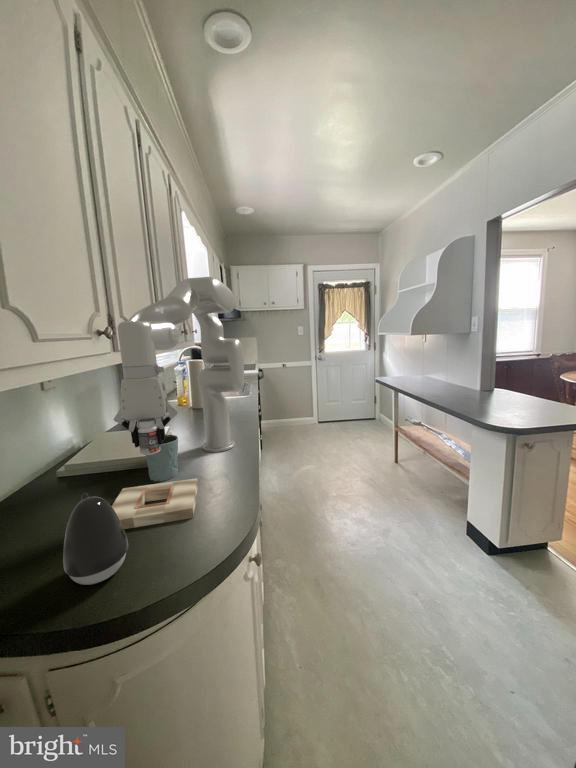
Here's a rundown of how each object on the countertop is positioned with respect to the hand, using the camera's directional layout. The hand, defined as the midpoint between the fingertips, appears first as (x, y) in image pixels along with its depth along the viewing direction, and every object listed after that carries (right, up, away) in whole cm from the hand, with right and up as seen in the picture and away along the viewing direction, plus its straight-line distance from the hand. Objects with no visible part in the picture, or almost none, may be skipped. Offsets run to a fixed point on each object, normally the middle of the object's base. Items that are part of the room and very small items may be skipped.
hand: (149, 443), depth 76 cm
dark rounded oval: (-1, -21, -19) cm, 28 cm away
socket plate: (0, -17, +3) cm, 17 cm away
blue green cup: (-5, -15, +21) cm, 26 cm away
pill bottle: (0, -2, 0) cm, 2 cm away
